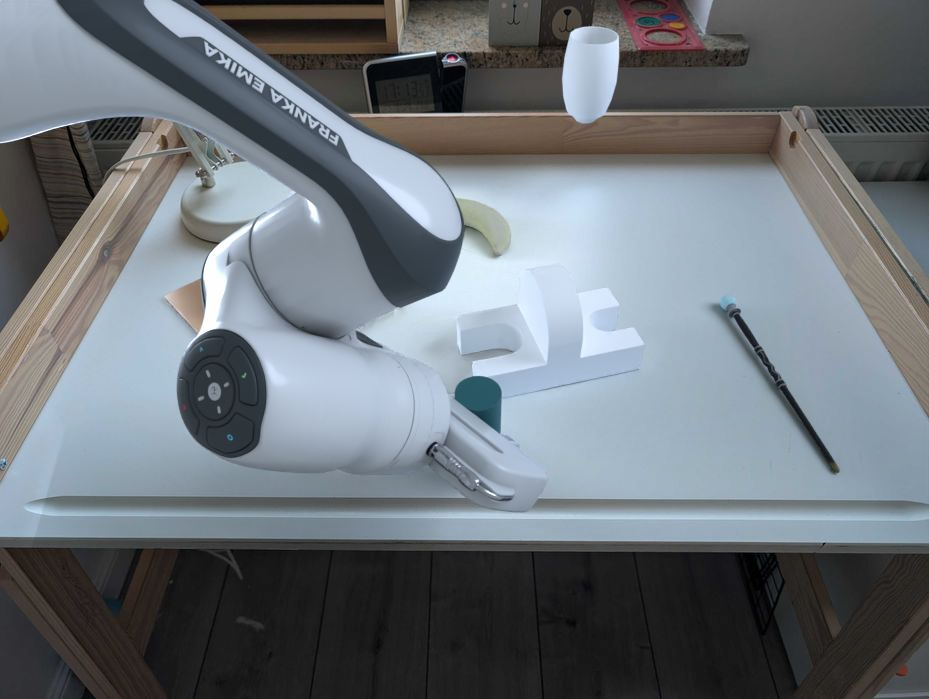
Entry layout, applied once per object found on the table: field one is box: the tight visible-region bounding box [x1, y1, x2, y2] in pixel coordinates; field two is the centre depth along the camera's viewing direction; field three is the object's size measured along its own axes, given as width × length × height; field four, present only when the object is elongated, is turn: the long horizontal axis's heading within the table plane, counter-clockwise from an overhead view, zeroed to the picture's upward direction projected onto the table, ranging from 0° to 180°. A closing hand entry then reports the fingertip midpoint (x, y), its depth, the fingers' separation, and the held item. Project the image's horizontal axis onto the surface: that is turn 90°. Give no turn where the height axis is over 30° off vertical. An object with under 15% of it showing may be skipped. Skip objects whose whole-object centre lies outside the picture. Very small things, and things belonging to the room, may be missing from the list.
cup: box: [561, 25, 620, 124], centre depth 98 cm, size 7×7×21 cm
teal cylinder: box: [454, 375, 503, 435], centre depth 64 cm, size 4×4×11 cm
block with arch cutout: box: [455, 263, 646, 399], centre depth 75 cm, size 18×10×11 cm, turn 105°
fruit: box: [455, 197, 512, 257], centre depth 95 cm, size 7×15×3 cm, turn 62°
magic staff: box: [719, 294, 840, 474], centre depth 76 cm, size 2×25×2 cm
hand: (483, 427), depth 64 cm, fingers open, 5 cm apart
